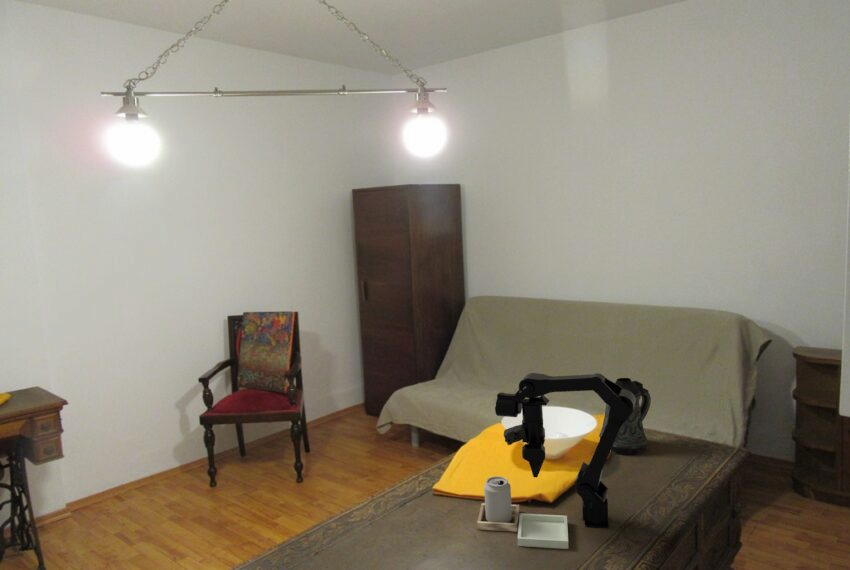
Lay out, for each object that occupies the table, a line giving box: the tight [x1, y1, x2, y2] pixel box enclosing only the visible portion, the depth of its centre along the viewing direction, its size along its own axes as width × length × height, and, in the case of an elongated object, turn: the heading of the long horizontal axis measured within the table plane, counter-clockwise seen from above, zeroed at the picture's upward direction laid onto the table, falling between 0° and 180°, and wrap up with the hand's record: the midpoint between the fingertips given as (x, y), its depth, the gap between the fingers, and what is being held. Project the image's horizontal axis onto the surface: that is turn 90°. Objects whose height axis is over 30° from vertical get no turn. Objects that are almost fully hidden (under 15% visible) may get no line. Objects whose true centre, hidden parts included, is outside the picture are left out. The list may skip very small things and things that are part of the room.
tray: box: [517, 512, 569, 550], centre depth 160 cm, size 13×13×2 cm
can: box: [483, 476, 513, 523], centre depth 168 cm, size 8×8×12 cm
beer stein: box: [598, 377, 652, 456], centre depth 214 cm, size 16×19×25 cm
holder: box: [476, 502, 520, 533], centre depth 169 cm, size 11×11×2 cm
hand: (535, 470), depth 171 cm, fingers open, 9 cm apart
